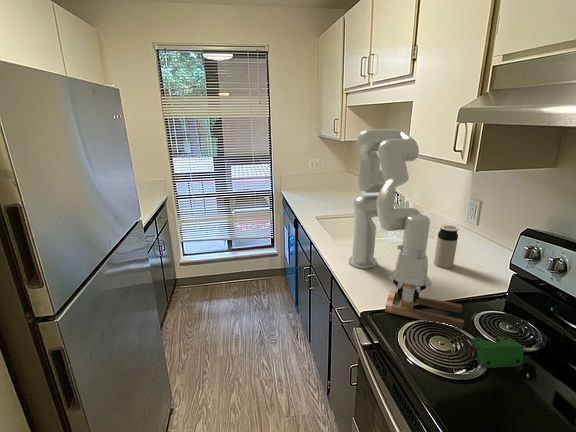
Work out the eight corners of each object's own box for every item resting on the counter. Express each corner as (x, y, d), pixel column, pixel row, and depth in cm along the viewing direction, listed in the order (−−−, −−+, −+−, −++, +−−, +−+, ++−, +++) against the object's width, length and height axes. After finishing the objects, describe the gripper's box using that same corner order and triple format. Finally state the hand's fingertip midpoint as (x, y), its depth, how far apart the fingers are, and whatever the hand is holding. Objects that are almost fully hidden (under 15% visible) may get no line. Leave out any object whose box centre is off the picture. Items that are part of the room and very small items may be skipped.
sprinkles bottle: (402, 301, 118) (407, 268, 114) (415, 306, 115) (420, 272, 111) (397, 306, 115) (401, 272, 111) (410, 312, 112) (414, 277, 108)
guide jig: (389, 296, 122) (389, 290, 122) (460, 310, 113) (461, 304, 112) (385, 311, 113) (385, 305, 112) (462, 329, 104) (463, 322, 103)
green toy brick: (499, 367, 94) (512, 338, 94) (515, 378, 88) (529, 348, 88) (463, 353, 93) (476, 324, 93) (477, 363, 87) (490, 332, 87)
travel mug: (456, 266, 146) (463, 228, 141) (445, 270, 143) (451, 231, 137) (441, 259, 153) (447, 223, 147) (429, 263, 149) (435, 226, 144)
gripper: (386, 251, 108) (381, 299, 114) (441, 260, 102) (433, 310, 108) (389, 243, 115) (384, 288, 121) (441, 251, 109) (433, 298, 114)
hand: (407, 298), depth 114 cm, fingers closed on sprinkles bottle, 4 cm apart
